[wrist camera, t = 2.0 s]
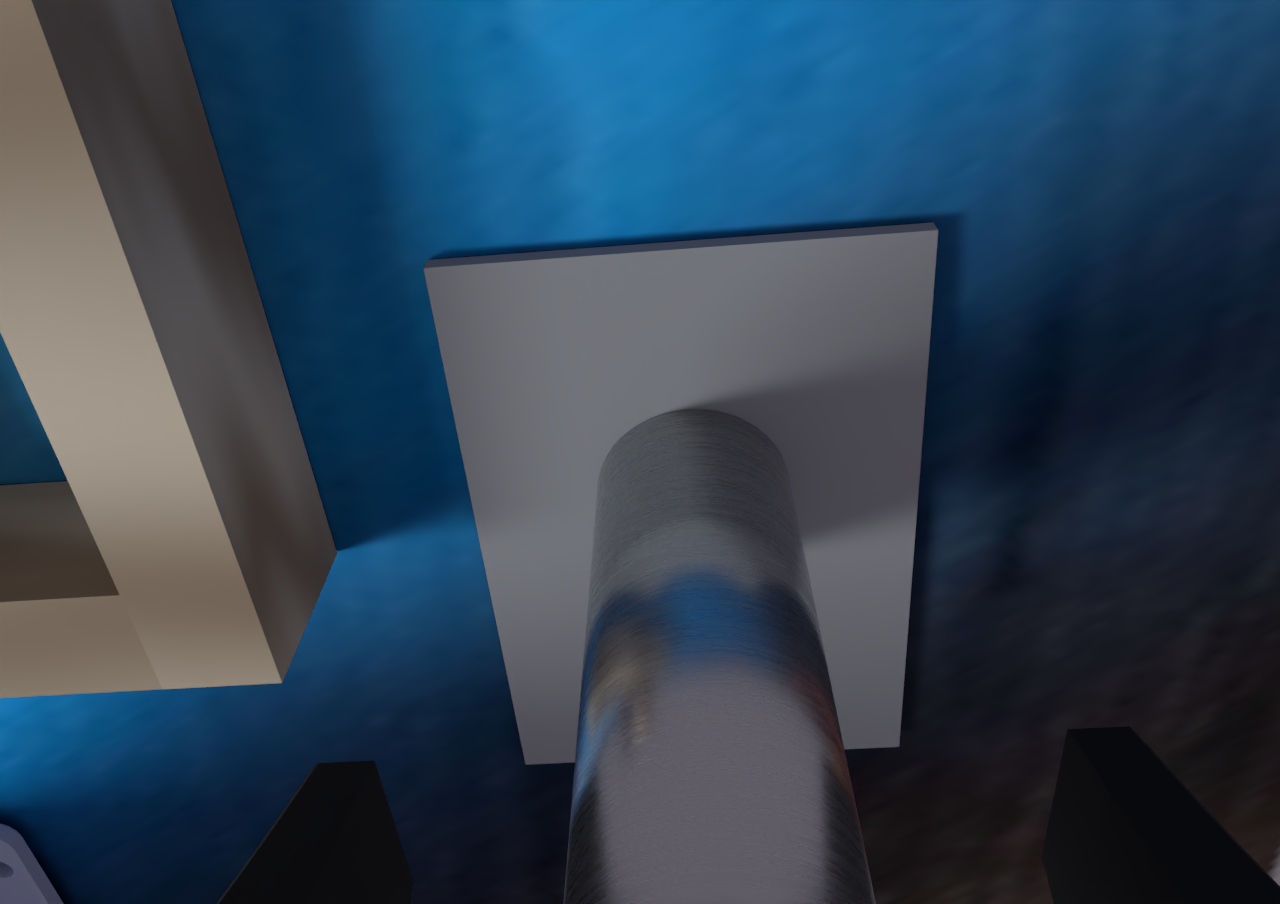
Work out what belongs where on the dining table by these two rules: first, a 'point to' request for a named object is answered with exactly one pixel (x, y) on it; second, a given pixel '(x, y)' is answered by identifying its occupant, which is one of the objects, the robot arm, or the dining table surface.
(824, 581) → the mat
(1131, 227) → the dining table surface
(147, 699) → the dining table surface
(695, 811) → the grey peg
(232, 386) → the hole block
